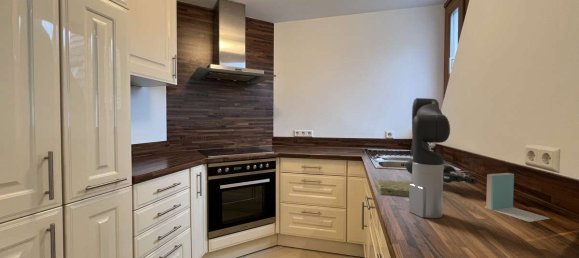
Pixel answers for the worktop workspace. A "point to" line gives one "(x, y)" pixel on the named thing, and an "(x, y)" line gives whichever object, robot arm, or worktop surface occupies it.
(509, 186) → the tile
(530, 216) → the mat
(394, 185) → the decorative tile
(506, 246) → the worktop surface
